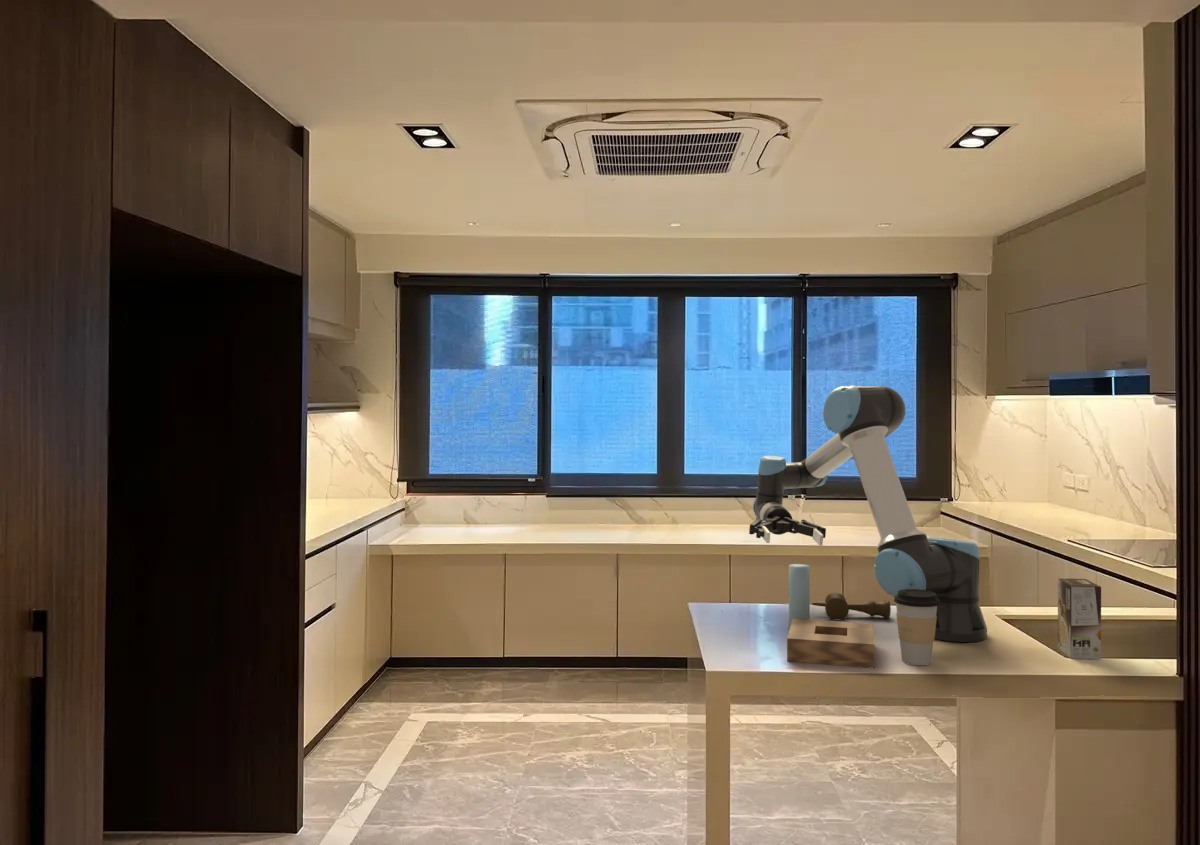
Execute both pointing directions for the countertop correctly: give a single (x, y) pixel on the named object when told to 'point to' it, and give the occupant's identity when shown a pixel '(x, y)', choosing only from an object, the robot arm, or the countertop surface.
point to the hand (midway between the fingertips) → (795, 539)
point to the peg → (799, 592)
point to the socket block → (831, 643)
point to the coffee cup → (916, 624)
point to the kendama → (853, 607)
